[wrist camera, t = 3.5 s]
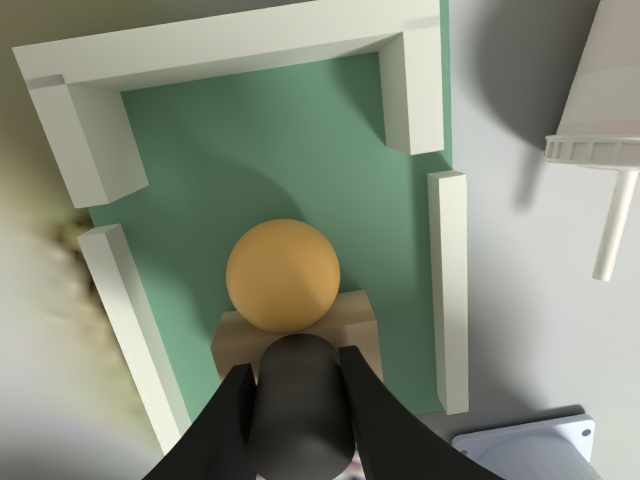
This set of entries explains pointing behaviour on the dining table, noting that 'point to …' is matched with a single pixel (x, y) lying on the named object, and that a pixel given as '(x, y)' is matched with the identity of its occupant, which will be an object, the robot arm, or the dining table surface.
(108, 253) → the pitch
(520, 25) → the dining table surface
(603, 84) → the smoothie
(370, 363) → the striker
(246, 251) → the ball
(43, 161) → the dining table surface
